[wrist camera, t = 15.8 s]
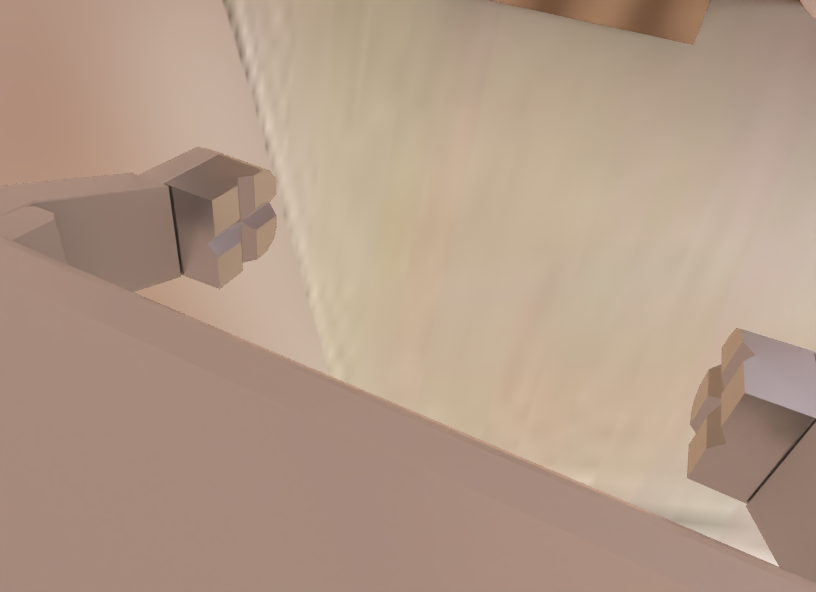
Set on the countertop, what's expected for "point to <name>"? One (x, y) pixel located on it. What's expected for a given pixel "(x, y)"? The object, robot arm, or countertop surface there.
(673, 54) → the countertop surface
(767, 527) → the robot arm
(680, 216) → the countertop surface
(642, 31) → the walnut block
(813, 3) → the pill bottle
